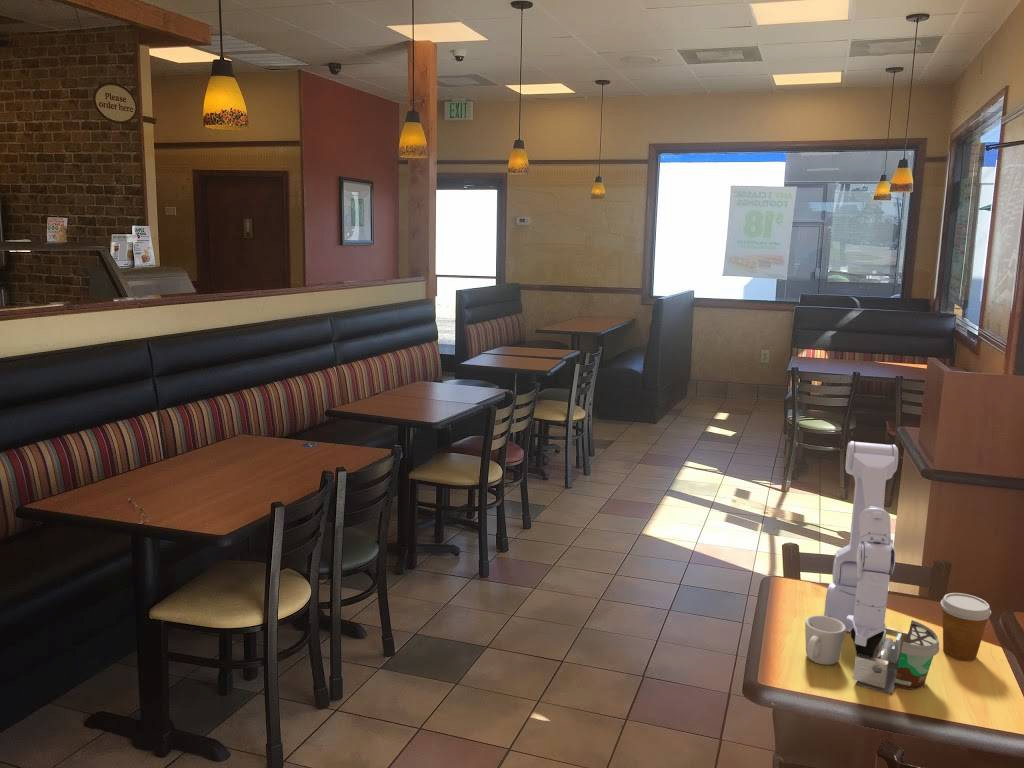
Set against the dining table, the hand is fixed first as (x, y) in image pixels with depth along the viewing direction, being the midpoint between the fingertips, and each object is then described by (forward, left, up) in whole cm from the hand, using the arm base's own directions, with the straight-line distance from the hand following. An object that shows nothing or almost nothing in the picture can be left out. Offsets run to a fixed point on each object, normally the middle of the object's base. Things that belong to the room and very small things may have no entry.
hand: (863, 664), depth 171 cm
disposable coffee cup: (+15, +23, -3) cm, 28 cm away
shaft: (+2, +4, -2) cm, 4 cm away
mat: (+3, +8, -3) cm, 9 cm away
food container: (+9, +5, -3) cm, 11 cm away
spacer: (+3, +14, 0) cm, 15 cm away
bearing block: (+3, +12, -3) cm, 12 cm away
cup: (-9, +2, -3) cm, 10 cm away
